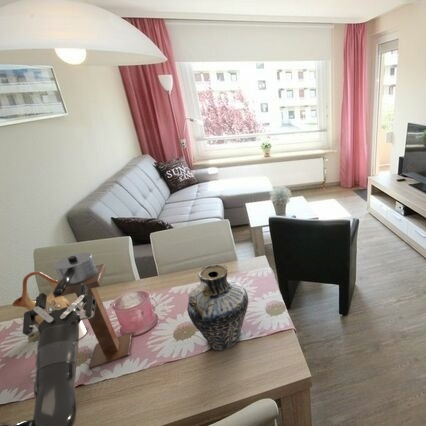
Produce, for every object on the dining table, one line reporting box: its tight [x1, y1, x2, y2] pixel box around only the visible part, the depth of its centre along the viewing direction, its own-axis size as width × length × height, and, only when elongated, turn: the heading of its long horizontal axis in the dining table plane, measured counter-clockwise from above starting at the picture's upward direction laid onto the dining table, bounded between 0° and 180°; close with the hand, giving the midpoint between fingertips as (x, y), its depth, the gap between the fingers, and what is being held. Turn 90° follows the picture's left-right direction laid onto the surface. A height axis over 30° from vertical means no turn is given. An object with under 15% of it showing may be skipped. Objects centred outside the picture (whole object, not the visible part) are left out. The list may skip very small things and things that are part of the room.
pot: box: [53, 252, 98, 296], centre depth 85 cm, size 9×20×7 cm, turn 25°
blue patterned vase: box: [187, 263, 249, 351], centre depth 100 cm, size 21×19×30 cm
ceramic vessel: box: [12, 271, 71, 327], centre depth 112 cm, size 16×9×25 cm, turn 153°
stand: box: [51, 263, 133, 369], centre depth 97 cm, size 11×11×32 cm
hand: (63, 289), depth 79 cm, fingers open, 8 cm apart
